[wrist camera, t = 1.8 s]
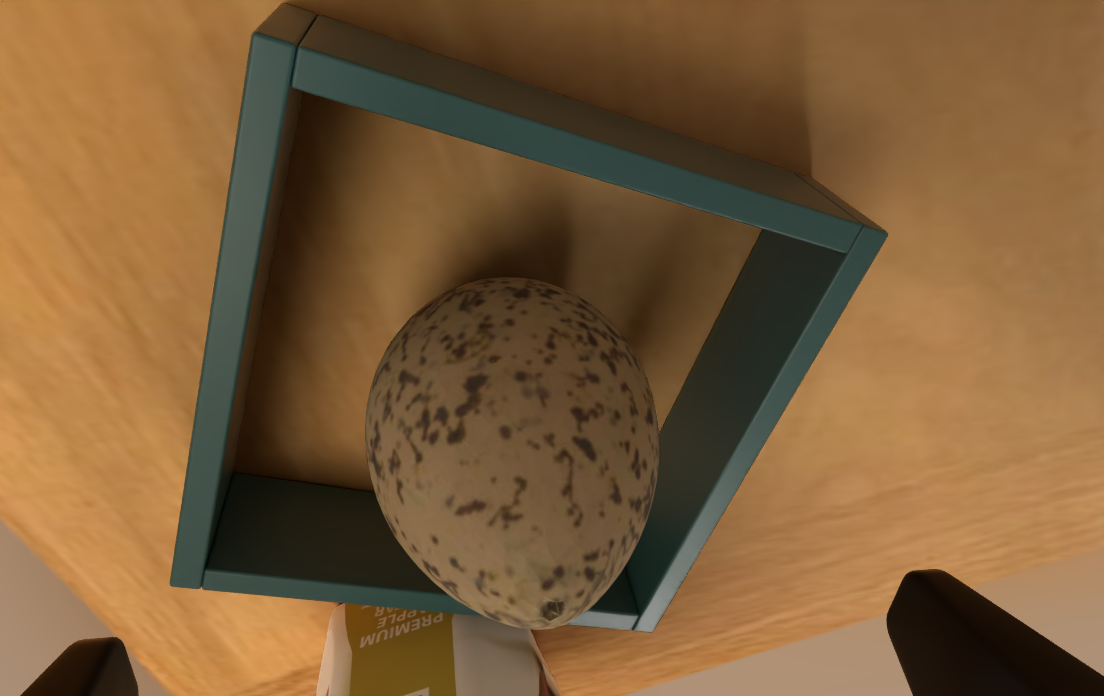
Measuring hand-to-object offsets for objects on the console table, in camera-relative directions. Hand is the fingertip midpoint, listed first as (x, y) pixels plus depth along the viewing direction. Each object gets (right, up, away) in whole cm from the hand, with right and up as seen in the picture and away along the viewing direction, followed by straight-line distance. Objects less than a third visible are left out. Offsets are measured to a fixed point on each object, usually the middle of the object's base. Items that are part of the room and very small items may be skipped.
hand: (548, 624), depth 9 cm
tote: (-2, +3, +14) cm, 14 cm away
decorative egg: (-2, +4, +14) cm, 14 cm away
